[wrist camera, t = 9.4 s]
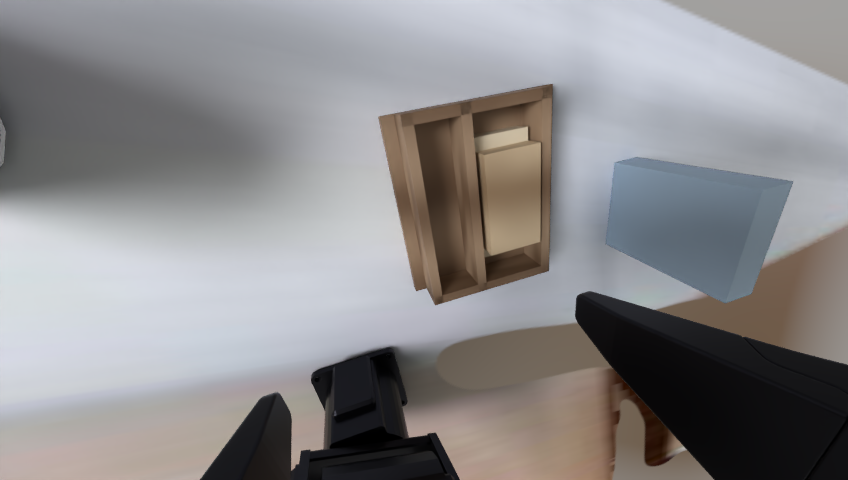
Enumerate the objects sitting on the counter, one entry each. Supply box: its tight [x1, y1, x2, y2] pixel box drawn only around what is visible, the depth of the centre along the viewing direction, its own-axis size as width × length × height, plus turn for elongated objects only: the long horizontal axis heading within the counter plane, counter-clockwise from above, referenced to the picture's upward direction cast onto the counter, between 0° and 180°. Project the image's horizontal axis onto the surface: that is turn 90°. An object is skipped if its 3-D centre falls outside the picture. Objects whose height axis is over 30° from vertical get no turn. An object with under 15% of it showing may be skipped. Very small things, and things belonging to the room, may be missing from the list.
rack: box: [378, 84, 553, 305], centre depth 20 cm, size 12×11×3 cm
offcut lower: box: [474, 126, 528, 257], centre depth 20 cm, size 8×4×1 cm, turn 9°
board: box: [606, 157, 793, 303], centre depth 21 cm, size 7×2×9 cm, turn 10°
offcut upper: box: [475, 140, 541, 255], centre depth 19 cm, size 6×4×1 cm, turn 9°
